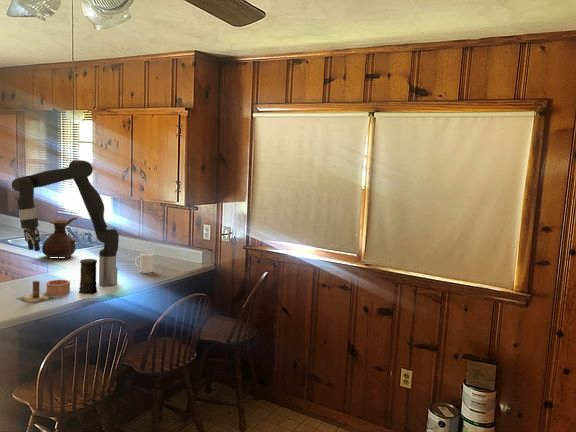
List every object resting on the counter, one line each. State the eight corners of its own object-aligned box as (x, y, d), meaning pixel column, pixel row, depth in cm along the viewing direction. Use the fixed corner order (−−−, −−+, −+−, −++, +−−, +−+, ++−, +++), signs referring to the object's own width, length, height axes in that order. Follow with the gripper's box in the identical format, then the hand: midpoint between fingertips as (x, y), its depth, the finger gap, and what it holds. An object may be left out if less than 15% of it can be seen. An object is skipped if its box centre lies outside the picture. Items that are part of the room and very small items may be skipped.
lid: (39, 293, 243) (39, 277, 242) (54, 297, 238) (54, 281, 237) (17, 299, 233) (17, 282, 232) (32, 303, 228) (32, 286, 227)
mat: (37, 294, 244) (37, 293, 244) (56, 299, 238) (56, 298, 238) (15, 299, 233) (15, 298, 233) (34, 305, 227) (34, 304, 227)
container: (75, 292, 251) (75, 260, 249) (90, 289, 258) (91, 257, 256) (85, 296, 246) (85, 262, 244) (100, 292, 254) (100, 260, 252)
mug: (132, 272, 300) (132, 254, 299) (137, 269, 309) (138, 252, 307) (150, 274, 299) (150, 256, 298) (155, 271, 308) (155, 253, 307)
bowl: (60, 289, 255) (60, 278, 255) (74, 292, 251) (74, 281, 250) (41, 293, 246) (41, 282, 245) (56, 297, 241) (56, 286, 240)
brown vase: (54, 262, 316) (54, 218, 313) (35, 257, 327) (35, 215, 323) (82, 257, 335) (83, 216, 331) (64, 253, 345) (64, 213, 342)
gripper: (41, 217, 224) (47, 249, 227) (31, 216, 234) (37, 247, 236) (25, 219, 219) (31, 253, 221) (15, 218, 229) (21, 250, 231)
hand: (34, 250), depth 229 cm, fingers open, 8 cm apart
